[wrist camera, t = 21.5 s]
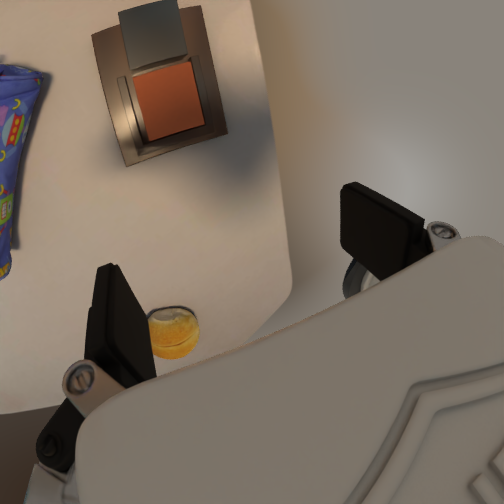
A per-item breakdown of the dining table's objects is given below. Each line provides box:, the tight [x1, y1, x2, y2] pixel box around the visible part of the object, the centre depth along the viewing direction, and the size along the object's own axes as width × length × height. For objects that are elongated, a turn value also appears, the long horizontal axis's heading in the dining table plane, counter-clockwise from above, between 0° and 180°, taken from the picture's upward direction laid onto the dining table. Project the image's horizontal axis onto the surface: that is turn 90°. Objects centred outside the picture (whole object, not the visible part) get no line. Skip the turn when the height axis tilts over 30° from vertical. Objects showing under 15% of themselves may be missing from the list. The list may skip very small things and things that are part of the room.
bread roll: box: [148, 308, 200, 359], centre depth 38 cm, size 8×9×4 cm
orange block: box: [133, 62, 205, 141], centre depth 21 cm, size 5×6×4 cm
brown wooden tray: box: [91, 0, 228, 167], centre depth 21 cm, size 11×15×5 cm
